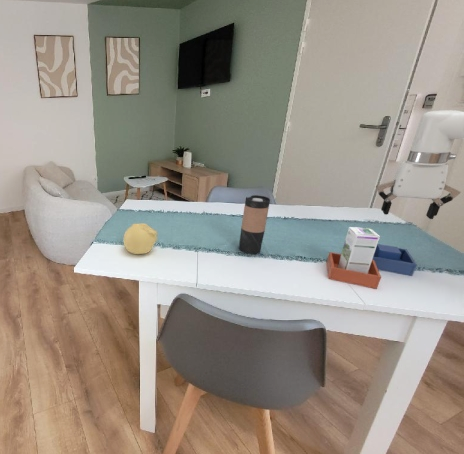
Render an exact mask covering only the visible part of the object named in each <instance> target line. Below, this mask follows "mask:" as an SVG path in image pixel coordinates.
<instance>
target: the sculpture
mask: <svg viewBox="0 0 464 454" xmlns="http://www.w3.org/2000/svg"><path fill="white" fill-rule="evenodd" d="M157 241H158V231H157V230H156V229H154V228H152V227H151V226H149V225H148V224H147V223H144V222H143V223H133V224H132V225H131V226H129V227H128V228H127V229H126V230H125V232H124V235H123V245H124V248H125V249H126V250H127V252H128V253H130V254H134V255H143V254H148V253H149V252H151V250H152V249H153V248H154V246H155V244H156V243H157Z"/></svg>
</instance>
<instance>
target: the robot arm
mask: <svg viewBox="0 0 464 454" xmlns="http://www.w3.org/2000/svg"><path fill="white" fill-rule="evenodd" d="M455 140H463V141H464V111H462V110H457V109H456V110H455V109H443V110H442V109H441V110H440V109H439V110H430V111H429V110H428V111H426V112H424V113H423V115H421V117H420V120H419V123H418V126H417V129H416V132H415V135H414V138H413V142H412V144H411V147H410V150H409V154H408V156H407V160H404V161H403V160H402V162H401V163H400V165H399V167H398V168H397V171H396V173H395V175H394V177H393V180H391V181H387V182H385V183H381V184H378V185H376V186H375V188H376V192H377V193H378V195H379V197H380V198H381V199H382V200H383V201H382V205H381V208H380V209H381V212H382V213H383V215H386V216H387V215H389V213H390V211H391V207H392V204H393V203H392V200H395V199H396V198H398V197H399V198H409V199H421V200H422V199H424V200H431V201H432V202H431V203H430V204H429V207H428V209H427V212H426V214H425V217H427V218H428V219H430V220H433V219H434V217H437V216H438V213H439V211H440V208H441V207H442V206H444V205H445V204H447V203H450V202H452V201H453V200H454V199H455V198H456V197H458V196H459V195H460V194H461V191H460V190H459V189H456V188H454V187H452V186H451V185H448V184H446V182H447V179H448V172H449V163H448V161H450V160H455V159H456V158H457V154H456V153H451V150H452V147H453V144H454V142H455ZM388 188H389V191H390V192H388V193H387V194H386V193H385V189H388ZM444 191H446V192H448V194H447V195H445V196H443V197H441V196H442V195H443V193H444ZM440 197H441V198H440Z"/></svg>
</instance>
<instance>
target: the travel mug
mask: <svg viewBox="0 0 464 454" xmlns="http://www.w3.org/2000/svg"><path fill="white" fill-rule="evenodd" d="M270 201H271V198H269V197H267V196H264V195H257V194H254V195H250V196H246V197H245V201H244V207H243V214H242V219H241V225H240V235H239V244H238V249H239V251H240V252H242V253H244V254H247V255H248V254H249V255H257V254H259V253H261V250H262V249H261V248H262V246H263V240H264V236H265V232H266V227H267V219H268V214H269V209H270V203H271V202H270Z"/></svg>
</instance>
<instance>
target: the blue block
mask: <svg viewBox="0 0 464 454" xmlns="http://www.w3.org/2000/svg"><path fill="white" fill-rule="evenodd" d="M398 248H399V247H398V246H393V245H387V244H380V243H378V244H377V247H376V250H375V253H374V256H373V257H379V258H385V259H391V260H396V261H399V258H400V256H401V252H400V251H399V249H398Z"/></svg>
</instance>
